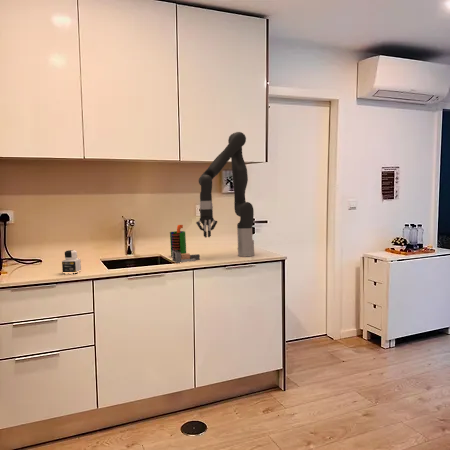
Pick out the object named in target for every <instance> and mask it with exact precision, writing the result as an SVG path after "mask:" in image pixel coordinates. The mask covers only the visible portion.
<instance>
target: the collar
mask: <svg viewBox="0 0 450 450" xmlns="http://www.w3.org/2000/svg"><path fill="white" fill-rule="evenodd" d="M171 259H172V261H175V263H176V264H181V263H188V262H187V261H189V262H196V260H195V258H191V259H181V252H179V251H177V250H172V257H171ZM180 262H181V263H180Z"/></svg>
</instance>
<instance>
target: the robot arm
mask: <svg viewBox="0 0 450 450" xmlns="http://www.w3.org/2000/svg"><path fill="white" fill-rule="evenodd" d="M227 140H228V144H227V145H226V147H225V148H224V149H223V150H222V151H221V152H220V153H219V154H218V155H217V156H216V157H215V158H214V160H213V161H212V162H211V164H209V166H208V168H207V169H206V170H205V171H204V172H202V174H201V175H200V177H199V178H198V184H199V185H200V192H199V212H200V213H199V220H198V221H196V222H195V224H196V225H197V227H198V228H199V230H200V231H202V232H203V237H204V238H207V237H208V238H211V236H212V234H211V231H213V230H214V229H215V228H216V225H217V224H218V220H215V219H214V213H213V211H214V210H213V209H214V208H213V207H214V206H213V199H212V198H213V197H212V195H213V194H212V192H213V180H214V178H215V177H216V176H218V175H219V173H221V171H222V170H223V169H224V167H225V166H226V164H227V163H229V160H230V159H231V173H232V183H233V194H234V195H233V196H234V200H233V201H234V203H233V204H234V208H233V209H234V212H235V215H236V216H238V217H240V218H239V220H240V221H239V222H238V223H237V226H236V229H237V257H252V256H255V241H254V238H253V224H254V215H255V214H254V206H253V204H252V203H251V202H248V201H246V189H247V186H248V182H249V179H248V178H249V176H248V169H247V165H246V162H245V160H244V157H243V147H244V145H245V144H246V142H247V141H246V140H247V137H246V135H245V134H244V132H241V131H236V132H233V133H231V134H230V135H229V136H228V139H227Z"/></svg>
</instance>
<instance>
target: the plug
mask: <svg viewBox="0 0 450 450" xmlns="http://www.w3.org/2000/svg"><path fill="white" fill-rule="evenodd" d="M200 257H201V256H200V254H196V253H195V254H190V253H188V252H186V253H185V254H181V259H191V258H195V261H200V260H201V259H200Z"/></svg>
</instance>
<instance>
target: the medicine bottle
mask: <svg viewBox="0 0 450 450" xmlns="http://www.w3.org/2000/svg"><path fill="white" fill-rule="evenodd" d="M81 261H82V260H81V258H78V251H77V250H74V249H72V250H71V249H70V250H69V249H68V250H66V251H64V260H62V261H61V266H62V267H61V268H62V269H61V270H62V273H63V272H77V271H79V270H81V271H82V264H81Z"/></svg>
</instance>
